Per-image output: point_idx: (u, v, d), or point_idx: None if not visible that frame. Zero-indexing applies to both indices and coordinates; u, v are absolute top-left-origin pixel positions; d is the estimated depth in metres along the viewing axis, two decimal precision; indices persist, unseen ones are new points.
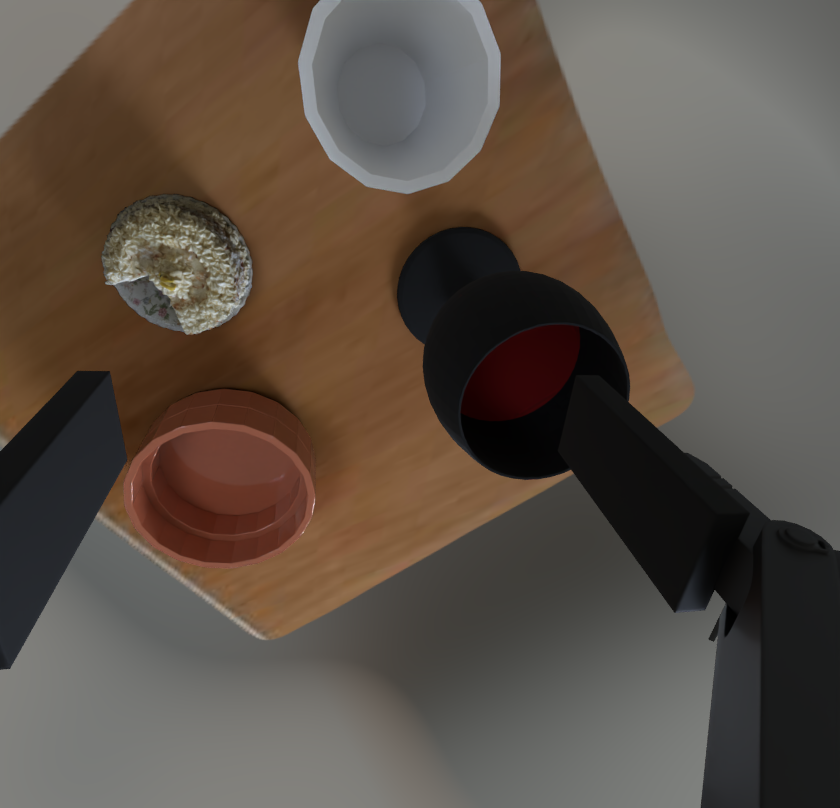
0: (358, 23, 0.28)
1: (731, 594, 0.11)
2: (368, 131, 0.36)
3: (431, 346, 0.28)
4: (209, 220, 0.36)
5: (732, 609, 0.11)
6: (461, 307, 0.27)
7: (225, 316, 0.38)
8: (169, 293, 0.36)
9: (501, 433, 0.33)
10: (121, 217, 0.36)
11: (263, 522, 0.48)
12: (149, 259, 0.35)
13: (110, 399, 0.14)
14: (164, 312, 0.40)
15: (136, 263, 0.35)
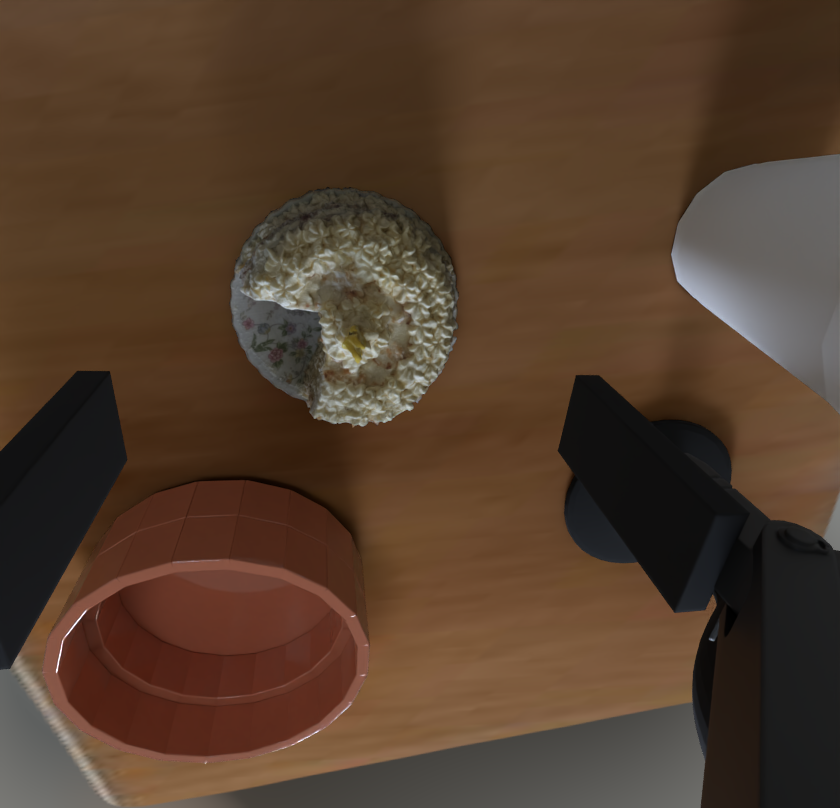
0: None
1: (731, 594, 0.11)
2: None
3: None
4: None
5: (732, 609, 0.11)
6: None
7: (388, 419, 0.23)
8: (336, 355, 0.21)
9: None
10: (314, 199, 0.21)
11: (232, 685, 0.30)
12: (337, 292, 0.20)
13: (110, 399, 0.14)
14: (278, 355, 0.24)
15: (314, 288, 0.20)
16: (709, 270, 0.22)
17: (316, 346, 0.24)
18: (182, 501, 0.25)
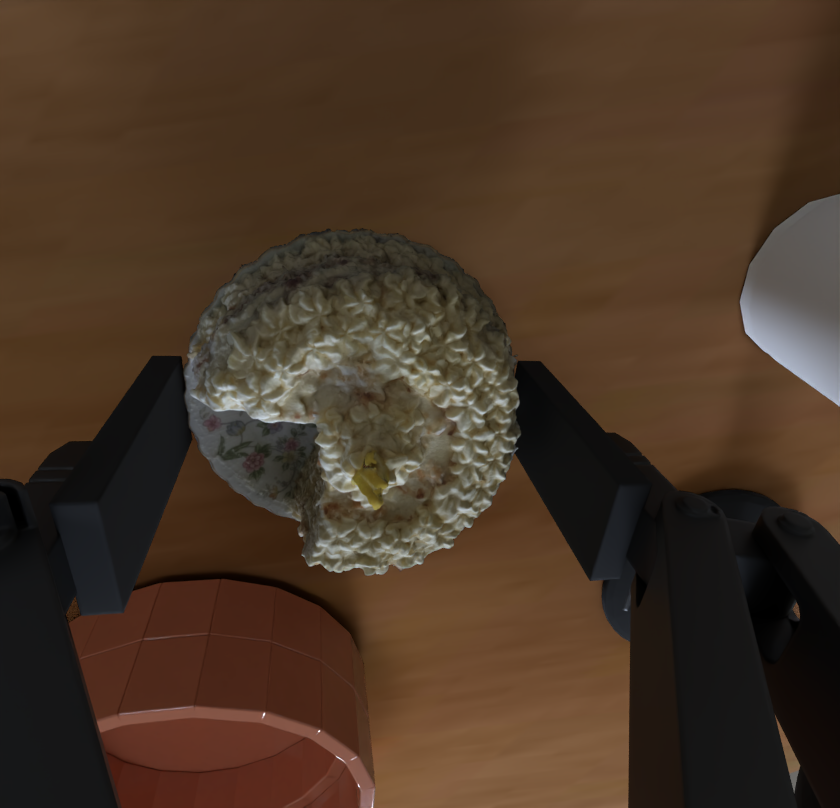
0: None
1: (639, 565, 0.11)
2: None
3: None
4: None
5: (642, 579, 0.12)
6: None
7: (418, 563, 0.16)
8: (342, 487, 0.13)
9: None
10: (308, 247, 0.14)
11: None
12: (344, 394, 0.13)
13: (182, 382, 0.15)
14: (257, 463, 0.17)
15: (309, 390, 0.13)
16: (803, 328, 0.17)
17: (311, 447, 0.17)
18: (139, 613, 0.20)
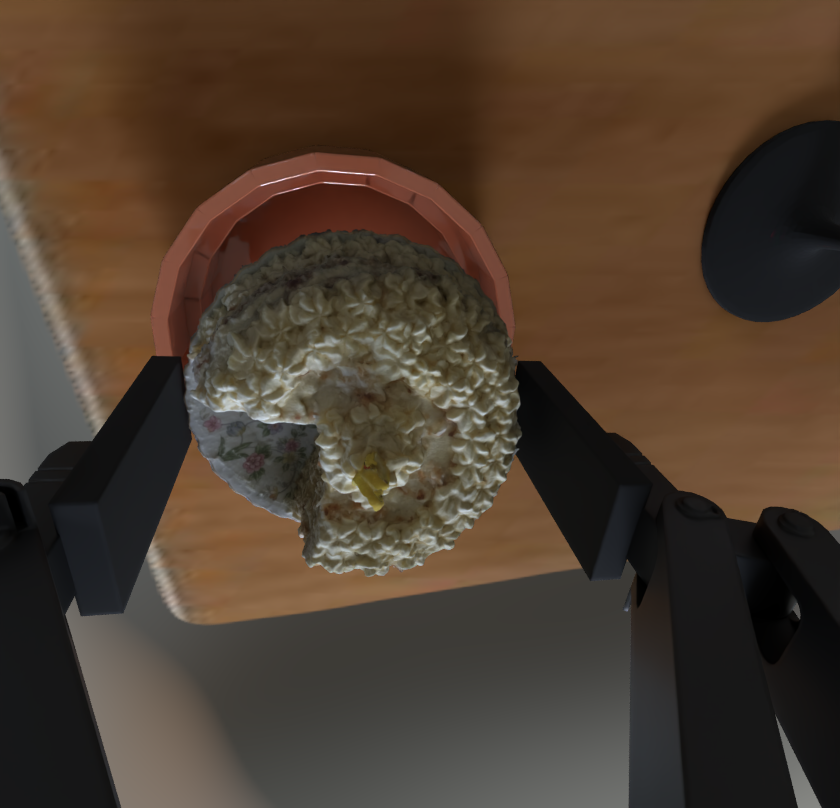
0: None
1: (640, 565, 0.11)
2: None
3: None
4: None
5: (642, 579, 0.12)
6: None
7: (418, 564, 0.16)
8: (342, 488, 0.13)
9: None
10: (309, 247, 0.14)
11: None
12: (344, 395, 0.13)
13: (181, 382, 0.15)
14: (257, 463, 0.17)
15: (309, 391, 0.13)
16: None
17: (311, 448, 0.17)
18: (303, 149, 0.21)
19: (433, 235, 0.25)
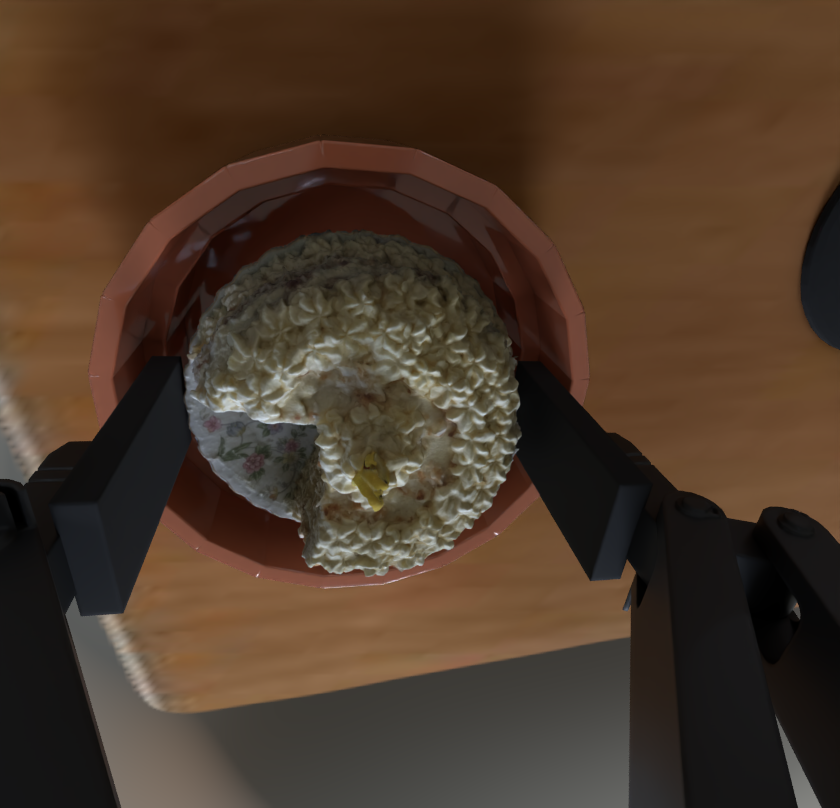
0: None
1: (640, 565, 0.11)
2: None
3: None
4: None
5: (642, 579, 0.12)
6: None
7: (418, 564, 0.16)
8: (342, 488, 0.13)
9: None
10: (309, 248, 0.14)
11: None
12: (344, 396, 0.13)
13: (181, 382, 0.15)
14: (257, 464, 0.17)
15: (309, 391, 0.13)
16: None
17: (311, 448, 0.17)
18: (304, 139, 0.16)
19: (471, 253, 0.20)
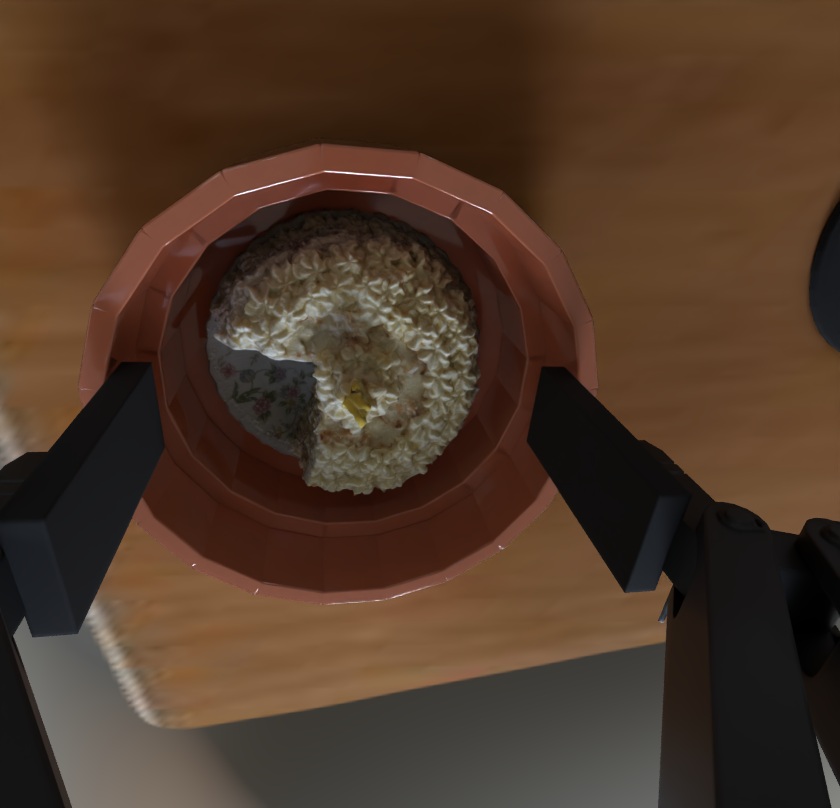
0: None
1: (678, 576, 0.11)
2: None
3: None
4: None
5: (679, 590, 0.11)
6: None
7: None
8: (334, 414, 0.17)
9: None
10: (308, 222, 0.17)
11: (343, 511, 0.21)
12: (336, 338, 0.16)
13: (152, 389, 0.14)
14: (264, 407, 0.20)
15: (308, 333, 0.16)
16: None
17: (310, 394, 0.20)
18: (303, 142, 0.15)
19: (474, 259, 0.19)
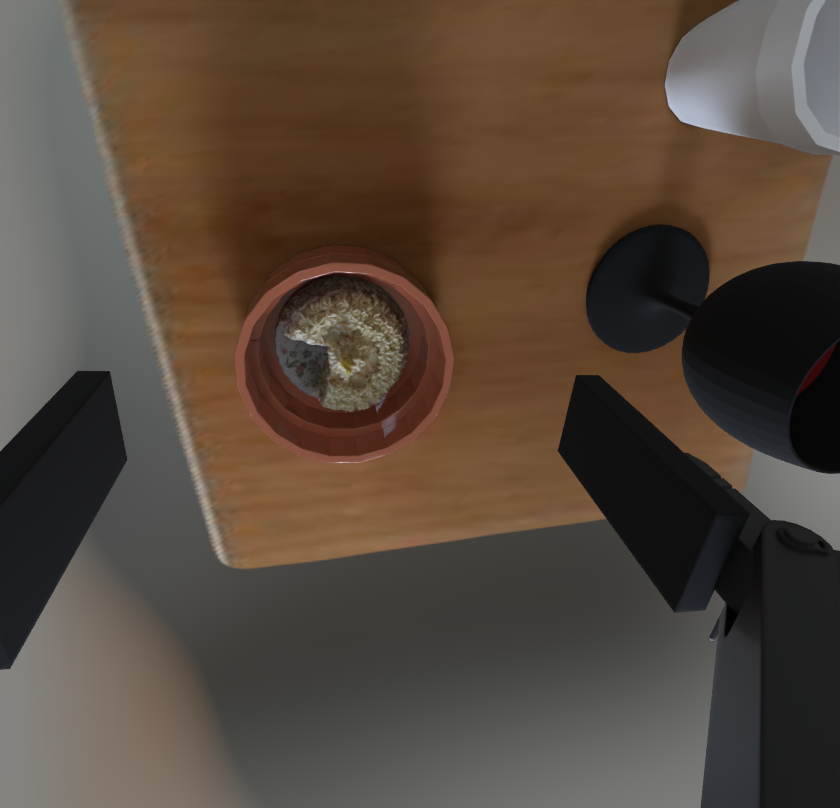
0: None
1: (731, 594, 0.11)
2: None
3: (762, 295, 0.27)
4: None
5: (732, 609, 0.11)
6: (816, 271, 0.26)
7: (366, 408, 0.39)
8: (336, 370, 0.37)
9: None
10: (325, 282, 0.37)
11: (339, 424, 0.41)
12: (337, 335, 0.36)
13: (110, 399, 0.14)
14: (300, 370, 0.40)
15: (325, 333, 0.36)
16: (690, 76, 0.33)
17: (323, 364, 0.40)
18: (324, 250, 0.35)
19: (405, 298, 0.39)
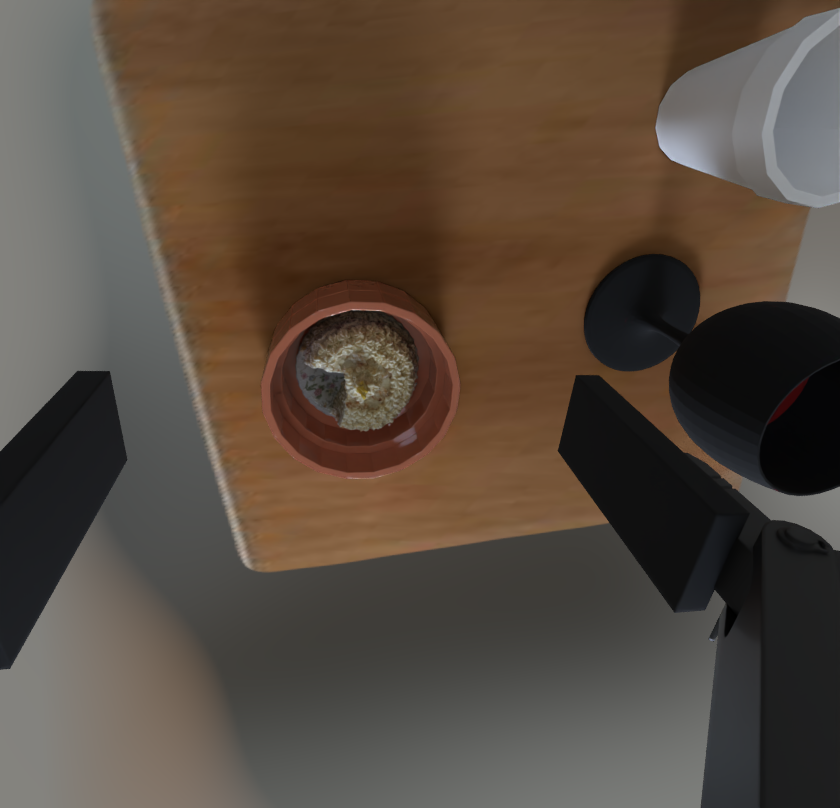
0: None
1: (731, 594, 0.11)
2: None
3: (738, 336, 0.30)
4: (411, 352, 0.41)
5: (732, 609, 0.11)
6: (786, 315, 0.29)
7: (380, 427, 0.42)
8: (352, 395, 0.40)
9: None
10: (341, 314, 0.40)
11: (355, 441, 0.44)
12: (353, 363, 0.39)
13: (111, 399, 0.14)
14: (319, 392, 0.43)
15: (342, 361, 0.39)
16: (678, 125, 0.36)
17: (340, 387, 0.44)
18: (341, 286, 0.38)
19: None
